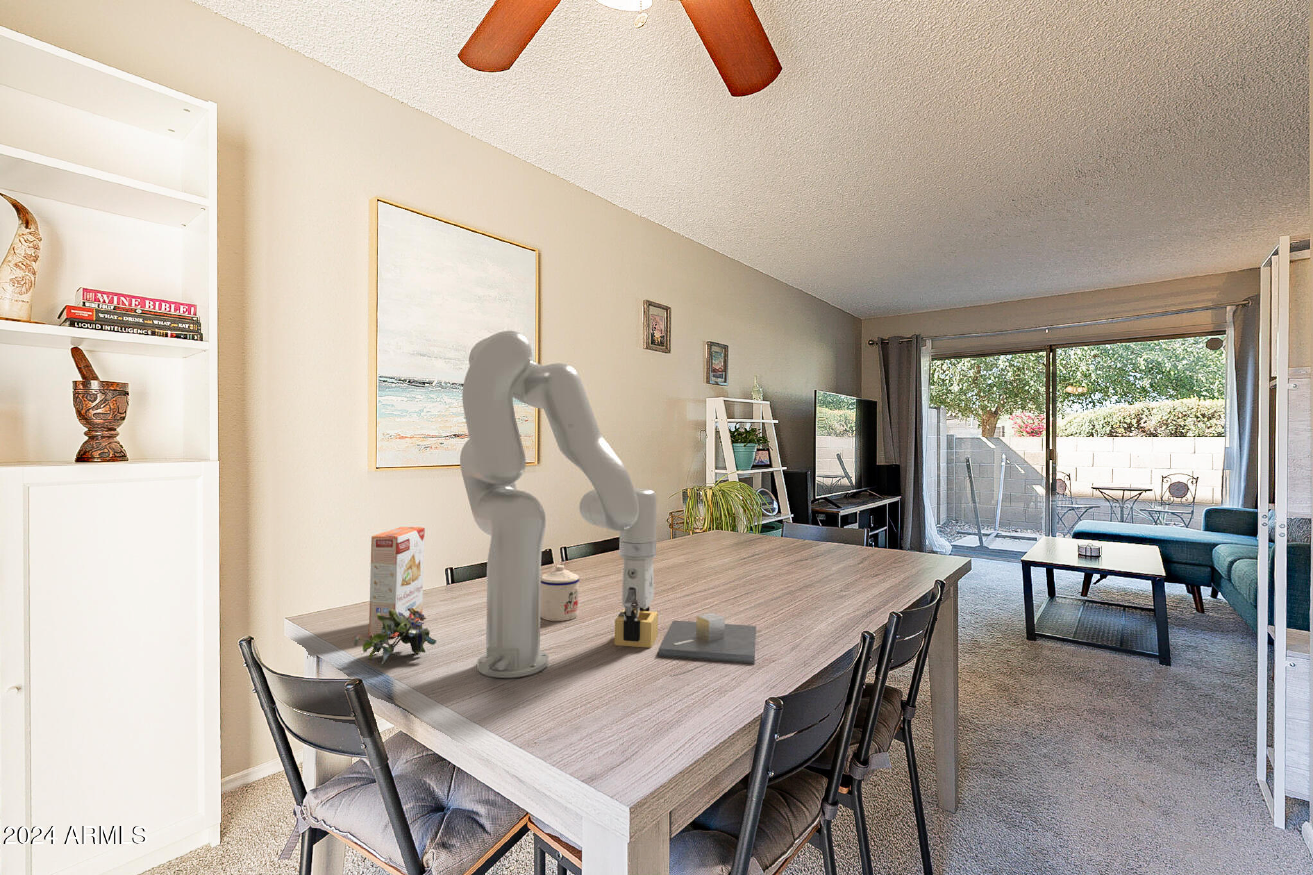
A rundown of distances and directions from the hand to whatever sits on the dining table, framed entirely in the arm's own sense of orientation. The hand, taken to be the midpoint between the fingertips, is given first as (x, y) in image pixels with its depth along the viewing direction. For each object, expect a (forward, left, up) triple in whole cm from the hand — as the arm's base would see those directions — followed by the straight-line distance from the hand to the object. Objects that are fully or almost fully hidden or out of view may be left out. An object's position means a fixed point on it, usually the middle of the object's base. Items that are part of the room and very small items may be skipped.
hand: (636, 632), depth 123 cm
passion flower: (-20, +41, -2) cm, 46 cm away
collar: (0, 0, -2) cm, 2 cm away
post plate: (+1, -15, -2) cm, 15 cm away
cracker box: (-3, +52, -2) cm, 52 cm away
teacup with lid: (+14, +21, -2) cm, 25 cm away
